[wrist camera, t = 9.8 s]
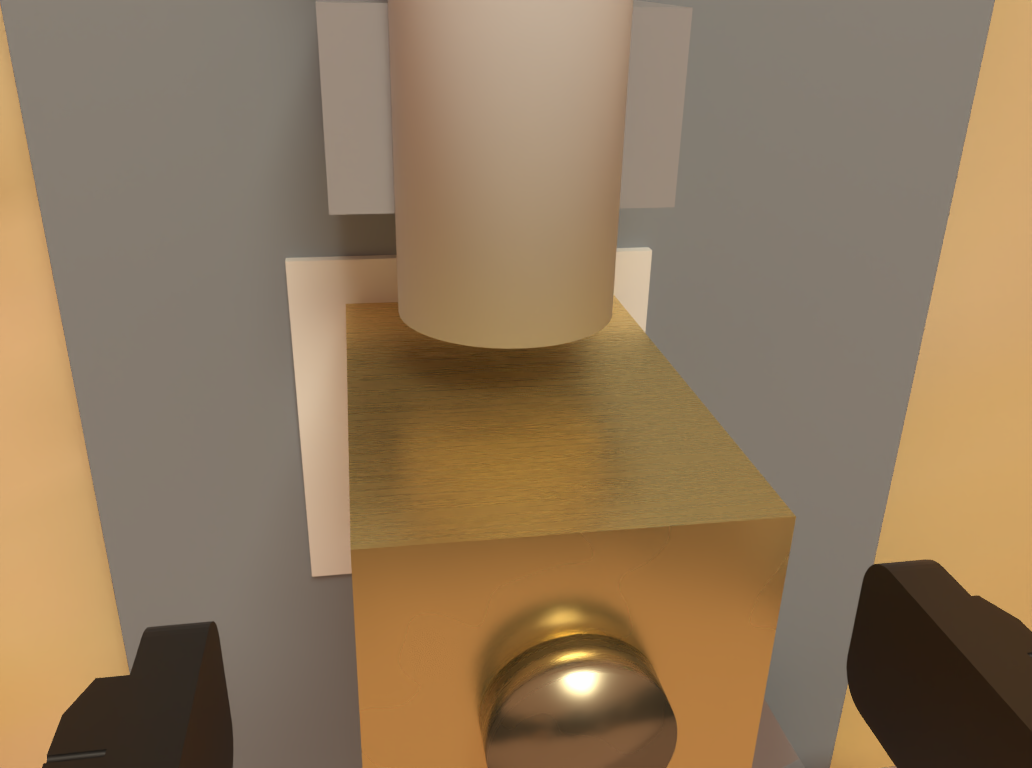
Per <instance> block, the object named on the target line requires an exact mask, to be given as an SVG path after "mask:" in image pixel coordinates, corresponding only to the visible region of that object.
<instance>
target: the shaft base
mask: <svg viewBox="0 0 1032 768" xmlns="http://www.w3.org/2000/svg"><path fill="white" fill-rule="evenodd" d="M994 2H995V0H0V4H1V9H2V14H3V20H4V25H5V30H6V35H7V40H8V45H9V51H10V56H11V61H12V66H13V71H14V76H15V82H16V87H17V92H18V97H19V102H20V107H21V113H22V118H23V123H24V128H25V133H26V138H27V144H28V149H29V154H30V159H31V164H32V170H33V175H34V180H35V185H36V190H37V195H38V201H39V206H40V211H41V216H42V221H43V226H44V232H45V237H46V242H47V247H48V252H49V257H50V263H51V268H52V273H53V278H54V283H55V288H56V294H57V299H58V304H59V309H60V314H61V319H62V325H63V330H64V335H65V340H66V345H67V350H68V356H69V361H70V366H71V371H72V376H73V381H74V387H75V392H76V397H77V402H78V407H79V412H80V418H81V423H82V428H83V433H84V438H85V443H86V449H87V454H88V459H89V464H90V469H91V474H92V480H93V485H94V490H95V495H96V500H97V506H98V511H99V516H100V521H101V526H102V531H103V537H104V542H105V547H106V552H107V557H108V562H109V568H110V573H111V578H112V583H113V588H114V593H115V599H116V604H117V609H118V614H119V619H120V624H121V630H122V635H123V640H124V645H125V650H126V655H127V661H128V666H129V671H130V673H131V669H132V666H133V663H134V660H135V657H136V653H137V650H138V647H139V644H140V641H141V637H142V635H143V632H144V631H145V629H146V628H147V627H154V626H165V625H176V624H187V623H199V622H210V621H214V622H215V623H216V625H217V628H218V632H219V637H220V644H221V651H222V658H223V664H224V671H225V678H226V685H227V691H228V698H229V705H230V712H231V718H232V727H233V768H362V750H361V731H360V713H359V695H358V677H357V659H356V641H355V622H354V604H353V586H352V568H351V549H350V498H349V446H348V395H347V344H346V304H353V303H385V302H398V312H399V315H400V318H401V319H402V320H403V322H404V323H405V324H406V325H408V326H409V327H410V328H412V329H414V330H415V331H417V332H419V333H421V334H424V335H426V336H429V337H432V338H435V339H438V340H442V341H446V342H450V343H455V344H460V345H466V346H474V347H483V348H500V349H521V348H537V347H546V346H554V345H559V344H564V343H569V342H573V341H577V340H580V339H583V338H586V337H588V336H591V335H593V334H595V333H597V332H599V331H600V330H602V329H603V328H604V327H605V326H606V325H607V324H608V323H609V322H610V320H611V318H612V311H613V296H614V295H615V297H616V298H617V299H618V300H619V302H620V303H621V304H622V305H623V306H624V308H625V309H626V310H627V311H628V312H629V314H630V315H631V316H632V317H633V319H634V320H635V321H636V322H637V323H638V325H639V326H640V327H641V328H642V330H643V331H644V332H645V333H646V334H647V336H648V337H649V338H650V339H651V340H652V342H653V343H654V344H655V345H656V347H657V348H658V349H659V350H660V351H661V353H662V354H663V355H664V356H665V358H666V359H667V360H668V361H669V362H670V364H671V365H672V366H673V367H674V369H675V370H676V371H677V372H678V373H679V375H680V376H681V377H682V378H683V379H684V381H685V382H686V383H687V384H688V386H689V387H690V388H691V389H692V390H693V392H694V393H695V394H696V395H697V397H698V398H699V399H700V400H701V401H702V403H703V404H704V405H705V406H706V407H707V409H708V410H709V411H710V412H711V414H712V415H713V416H714V417H715V418H716V420H717V421H718V422H719V423H720V425H721V426H722V427H723V428H724V429H725V431H726V432H727V433H728V434H729V435H730V437H731V438H732V439H733V440H734V442H735V443H736V444H737V445H738V446H739V448H740V449H741V450H742V451H743V453H744V454H745V455H746V456H747V457H748V459H749V460H750V461H751V462H752V463H753V465H754V466H755V467H756V468H757V470H758V471H759V472H760V473H761V474H762V476H763V477H764V478H765V479H766V481H767V482H768V483H769V484H770V485H771V487H772V488H773V489H774V490H775V491H776V493H777V494H778V495H779V496H780V498H781V499H782V500H783V501H784V502H785V504H786V505H787V506H788V507H789V509H790V510H791V511H792V512H793V513H794V515H795V516H796V520H795V526H794V532H793V537H792V543H791V549H790V554H789V560H788V566H787V571H786V577H785V582H784V588H783V594H782V599H781V605H780V611H779V616H778V622H777V628H776V633H775V639H774V644H773V650H772V656H771V661H770V667H769V673H768V678H767V684H766V690H765V695H764V701H763V706H762V712H761V718H760V723H759V729H758V735H757V740H756V746H755V752H754V757H753V763H752V768H830V764H831V759H832V755H833V750H834V745H835V741H836V736H837V731H838V727H839V722H840V717H841V713H842V708H843V703H844V699H845V694H846V690H847V685H848V680H847V669H846V666H847V656H848V651H849V646H850V641H851V636H852V631H853V626H854V621H855V616H856V611H857V606H858V601H859V596H860V591H861V586H862V582H863V578H864V575H865V573H866V571H867V569H868V568H869V567H870V566H871V565H873V564H874V559H875V555H876V550H877V546H878V541H879V536H880V532H881V527H882V522H883V518H884V513H885V508H886V504H887V499H888V494H889V490H890V485H891V480H892V476H893V471H894V467H895V462H896V457H897V453H898V448H899V443H900V439H901V434H902V429H903V425H904V420H905V415H906V411H907V406H908V401H909V397H910V392H911V388H912V383H913V378H914V374H915V369H916V364H917V360H918V355H919V350H920V346H921V341H922V336H923V332H924V327H925V323H926V318H927V313H928V309H929V304H930V299H931V295H932V290H933V285H934V281H935V276H936V271H937V267H938V262H939V257H940V253H941V248H942V244H943V239H944V234H945V230H946V225H947V220H948V216H949V211H950V206H951V202H952V197H953V192H954V188H955V183H956V179H957V174H958V169H959V165H960V160H961V155H962V151H963V146H964V141H965V137H966V132H967V127H968V123H969V118H970V113H971V109H972V104H973V100H974V95H975V90H976V86H977V81H978V76H979V72H980V67H981V62H982V58H983V53H984V48H985V44H986V39H987V34H988V30H989V25H990V21H991V16H992V11H993V7H994ZM883 768H897V767H896V766H891V767H883Z"/></svg>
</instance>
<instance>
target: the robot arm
mask: <svg viewBox="0 0 1032 768" xmlns="http://www.w3.org/2000/svg"><path fill="white" fill-rule="evenodd" d="M846 669H847V680H848V685H849V689H850V693H851V696H852V698H853V701H854V703H855V705H856V707H857V709H858V711H859V712H860V714H861V715H862V717H863V718H864V720H865V721H866V723H867V724H868V726H869V727H870V729H871V730H872V732H873V733H874V735H875V736H876V738H877V739H878V741H879V742H880V744H881V745H882V746H883V748H884V749H885V751H886V752H887V754H888V755H889V757H890V758H891V760H892V761H893V763H894V764H895V766H896V767H897V768H1032V632H1031V631H1030V630H1029V629H1028V628H1027V627H1026V626H1025V625H1024V624H1023V623H1022V622H1021V621H1020V620H1019V619H1017V618H1015V617H1014V616H1012V615H1010V614H1009V613H1007V612H1005V611H1003V610H1002V609H1000V608H998V607H997V606H995V605H993V604H992V603H990V602H988V601H987V600H985V599H983V598H982V597H980V596H971V595H970V594H969V593H968V592H967V591H966V590H965V589H964V588H963V587H962V586H961V585H960V584H959V583H958V582H957V581H956V580H955V579H954V578H953V577H952V576H951V575H950V574H949V573H948V572H947V571H946V570H945V569H944V568H943V567H942V566H941V565H940V564H939V563H937V562H935V561H933V560H916V561H905V562H894V563H883V564H874V565H871V566H870V567H869V568H868V569H867V571H866V573H865V575H864V578H863V582H862V586H861V591H860V596H859V601H858V606H857V611H856V616H855V621H854V626H853V631H852V636H851V641H850V646H849V651H848V656H847V666H846ZM42 768H233V727H232V718H231V712H230V705H229V698H228V691H227V685H226V678H225V671H224V664H223V658H222V651H221V644H220V637H219V632H218V628H217V625H216V623H215V622H214V621H210V622H199V623H187V624H176V625H165V626H154V627H147V628H146V629H145V631H144V632H143V635H142V637H141V641H140V644H139V647H138V650H137V653H136V657H135V660H134V663H133V666H132V669H131V673H130V675H126V676H116V677H105V678H96V679H95V680H94V681H93V682H92V683H91V684H90V685H89V686H88V687H87V689H86V690H85V691H84V692H83V693H82V694H81V695H80V696H79V697H78V698H77V700H76V701H75V702H74V703H73V704H72V705H71V706H70V707H69V708H68V709H67V710H66V712H65V713H64V714H63V715H62V717H61V720H60V723H59V725H58V728H57V730H56V733H55V736H54V738H53V741H52V743H51V746H50V749H49V751H48V754H47V763H44V764H43V767H42Z"/></svg>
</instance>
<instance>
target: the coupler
mask: <svg viewBox="0 0 1032 768" xmlns="http://www.w3.org/2000/svg"><path fill="white" fill-rule="evenodd" d="M346 344H347V395H348V446H349V498H350V549H351V568H352V586H353V604H354V622H355V641H356V659H357V677H358V695H359V713H360V731H361V750H362V768H752V763H753V757H754V752H755V746H756V740H757V735H758V729H759V723H760V718H761V712H762V706H763V701H764V695H765V690H766V684H767V678H768V673H769V667H770V661H771V656H772V650H773V644H774V639H775V633H776V628H777V622H778V616H779V611H780V605H781V599H782V594H783V588H784V582H785V577H786V571H787V566H788V560H789V554H790V549H791V543H792V537H793V532H794V526H795V520H796V516H795V515H794V513H793V512H792V511H791V510H790V509H789V507H788V506H787V505H786V504H785V502H784V501H783V500H782V499H781V498H780V496H779V495H778V494H777V493H776V491H775V490H774V489H773V488H772V487H771V485H770V484H769V483H768V482H767V481H766V479H765V478H764V477H763V476H762V474H761V473H760V472H759V471H758V470H757V468H756V467H755V466H754V465H753V463H752V462H751V461H750V460H749V459H748V457H747V456H746V455H745V454H744V453H743V451H742V450H741V449H740V448H739V446H738V445H737V444H736V443H735V442H734V440H733V439H732V438H731V437H730V435H729V434H728V433H727V432H726V431H725V429H724V428H723V427H722V426H721V425H720V423H719V422H718V421H717V420H716V418H715V417H714V416H713V415H712V414H711V412H710V411H709V410H708V409H707V407H706V406H705V405H704V404H703V403H702V401H701V400H700V399H699V398H698V397H697V395H696V394H695V393H694V392H693V390H692V389H691V388H690V387H689V386H688V384H687V383H686V382H685V381H684V379H683V378H682V377H681V376H680V375H679V373H678V372H677V371H676V370H675V369H674V367H673V366H672V365H671V364H670V362H669V361H668V360H667V359H666V358H665V356H664V355H663V354H662V353H661V351H660V350H659V349H658V348H657V347H656V345H655V344H654V343H653V342H652V340H651V339H650V338H649V337H648V336H647V334H646V333H645V332H644V331H643V330H642V328H641V327H640V326H639V325H638V323H637V322H636V321H635V320H634V319H633V317H632V316H631V315H630V314H629V312H628V311H627V310H626V309H625V308H624V306H623V305H622V304H621V303H620V302H619V300H618V299H617V298H616V297H615V295H614V296H613V311H612V318H611V320H610V322H609V323H608V324H607V325H606V326H605V327H604V328H603V329H602V330H600V331H599V332H597V333H595V334H593V335H591V336H588V337H586V338H583V339H580V340H577V341H573V342H569V343H564V344H559V345H554V346H546V347H537V348H521V349H500V348H483V347H474V346H466V345H460V344H455V343H450V342H446V341H442V340H438V339H435V338H432V337H429V336H426V335H424V334H421V333H419V332H417V331H415V330H414V329H412V328H410V327H409V326H408V325H406V324H405V323H404V322H403V320H402V319H401V318H400V315H399V312H398V302H385V303H353V304H346Z"/></svg>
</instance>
